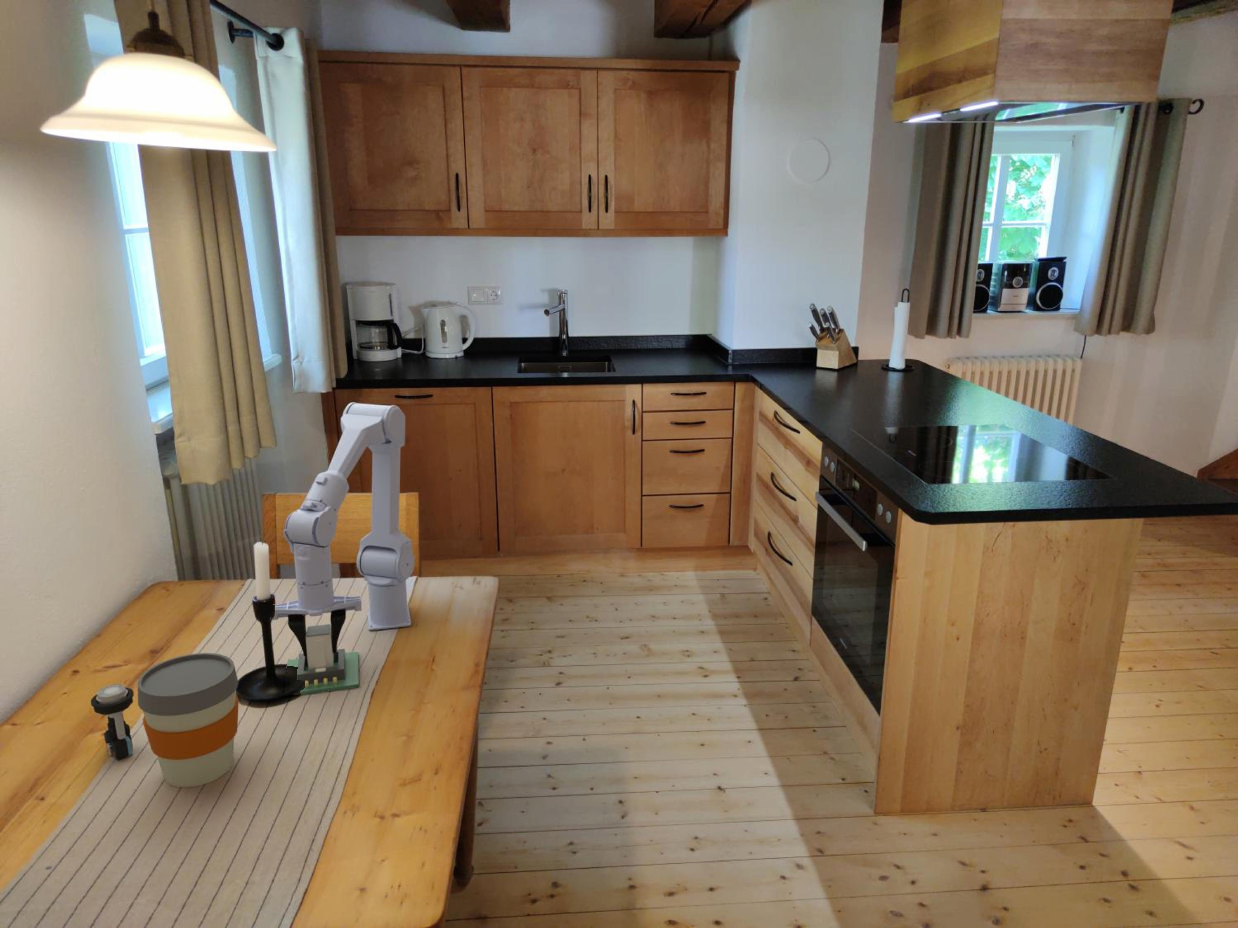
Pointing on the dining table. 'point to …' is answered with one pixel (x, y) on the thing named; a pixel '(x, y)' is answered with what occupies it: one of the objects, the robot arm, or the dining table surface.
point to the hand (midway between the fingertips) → (320, 651)
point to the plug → (319, 646)
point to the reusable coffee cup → (191, 716)
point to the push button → (115, 718)
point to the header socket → (328, 673)
